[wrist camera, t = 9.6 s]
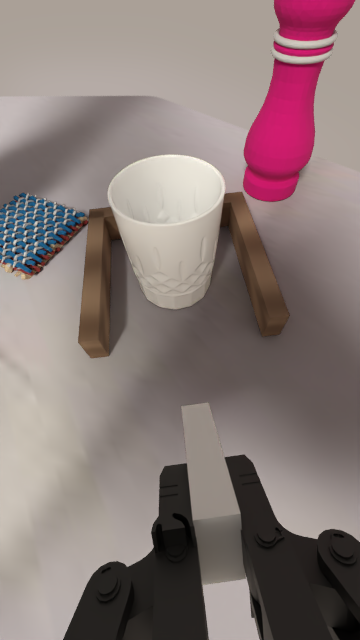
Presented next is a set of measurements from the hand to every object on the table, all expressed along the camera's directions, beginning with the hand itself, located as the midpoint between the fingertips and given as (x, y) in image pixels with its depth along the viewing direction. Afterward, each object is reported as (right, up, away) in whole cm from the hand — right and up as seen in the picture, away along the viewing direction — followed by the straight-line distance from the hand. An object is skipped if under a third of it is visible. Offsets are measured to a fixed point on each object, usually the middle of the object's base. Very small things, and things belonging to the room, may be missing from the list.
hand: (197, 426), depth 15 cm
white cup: (-1, +9, +12) cm, 15 cm away
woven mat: (-18, +15, +17) cm, 29 cm away
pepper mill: (+10, +22, +19) cm, 31 cm away
